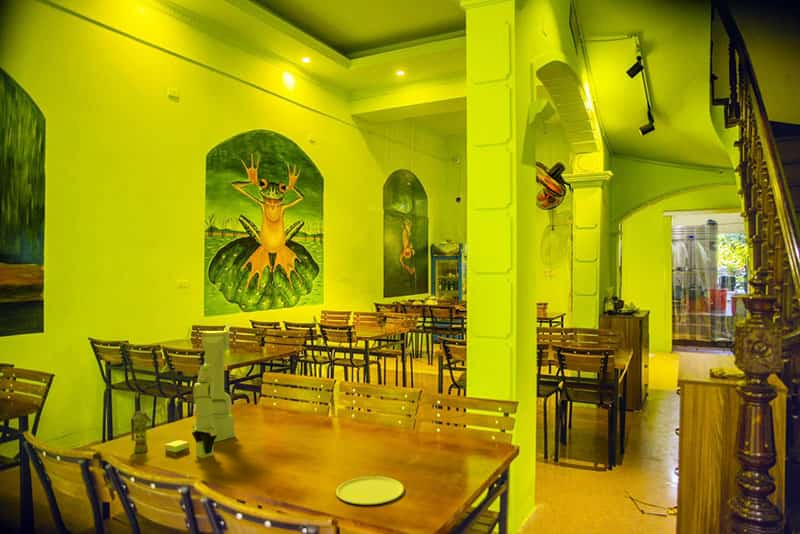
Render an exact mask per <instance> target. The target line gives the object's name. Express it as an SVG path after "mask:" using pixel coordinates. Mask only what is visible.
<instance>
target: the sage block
mask: <svg viewBox="0 0 800 534" xmlns="http://www.w3.org/2000/svg"><path fill="white" fill-rule="evenodd" d="M195 452H196V453H195V456H196V457H198V458H200V459H204V458H205V459H206V458H209V457H212V456H214V455H215V454H214V452H215V451H214V446H213V447H212V451H211V453H208V454H205V451H204V444H203V441H199V442H196V441H195Z"/></svg>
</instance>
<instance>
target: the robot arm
mask: <svg viewBox="0 0 800 534" xmlns="http://www.w3.org/2000/svg"><path fill="white" fill-rule="evenodd" d="M230 338H231V337H230V333H229V331H228V330H209V331H208V330H204V331H203V332H202V334H201V344H202V347H203V349H204V350H205V353H204V359H203V360H204V361H203V364H202V365H201V366H200V368H199V371H198V376H197V381H196V383H195V384H194V385H193V388H192V394H193V395H192V396H193V400H194V404H195V423H191V424H192V432H191V435H192V437H193V438H194V440H195V443H196V442H199V441H203V444H204V451H205V454H208V453H211V451H212V447H213V448H214V444H215V443H217V442H220V441H224V440H228V439H231V438H235V437H236V434H235V432H236V431H235V418H234V416H233V415H232V414H231V413H232V411H233V408H232V406H233V403H232V396H231V395H230V394H229V393H227V392H226V391H225V355H226V352H227V351H229V349H230V340H231V339H230Z"/></svg>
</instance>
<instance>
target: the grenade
mask: <svg viewBox="0 0 800 534" xmlns="http://www.w3.org/2000/svg"><path fill="white" fill-rule="evenodd" d="M148 422H149V423H151V422H152V419H151V418H150V417H149V416H148V414H147V411H144V410H139V411H136V412H134V413H133V415H132V418H131V420H130V424H131V425H130V426H131V427H130V429H131V431H130V432H131V433H130V434H131V442H135V446H134V447H133V448H134V449H133V450H134V451H133V453H135V452H139V453H138V454H141V453H140V452H143V453H146V452H148V450H149V447H148V446H149V445H148V444H147V423H148ZM145 451H146V452H145Z"/></svg>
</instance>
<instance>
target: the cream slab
mask: <svg viewBox="0 0 800 534" xmlns="http://www.w3.org/2000/svg"><path fill="white" fill-rule="evenodd" d="M186 448H189V449H190V442H189V441H185V440H182V439H181V440H180V439H178V440H177V439H176V440H174V441H171V442H169V443H165V444H164V451H165V450H168V451H173V452H177V451H180V450H183V449H186Z"/></svg>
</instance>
